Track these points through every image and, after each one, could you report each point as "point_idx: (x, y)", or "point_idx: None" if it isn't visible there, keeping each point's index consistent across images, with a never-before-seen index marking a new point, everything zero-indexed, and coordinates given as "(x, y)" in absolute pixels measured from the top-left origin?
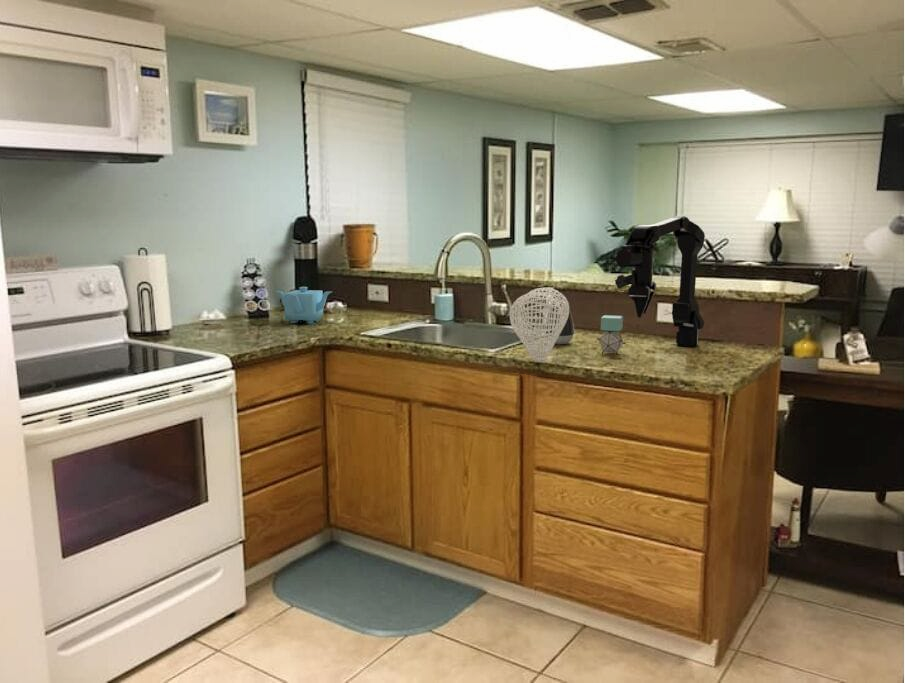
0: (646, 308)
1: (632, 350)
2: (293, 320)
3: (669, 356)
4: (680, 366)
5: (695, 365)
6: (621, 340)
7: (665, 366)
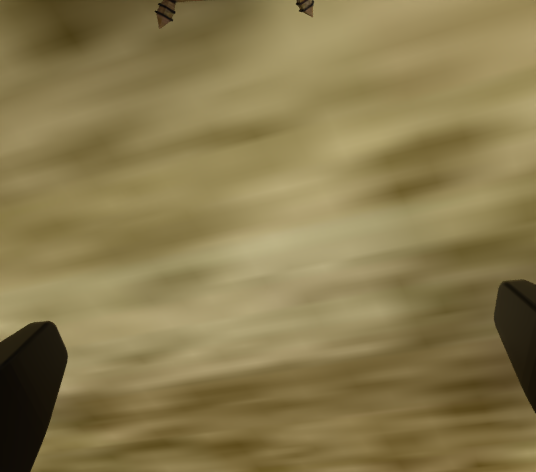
0: (531, 394)
1: (434, 35)
2: None
3: (304, 294)
4: (78, 377)
5: (141, 417)
6: (157, 15)
7: None
